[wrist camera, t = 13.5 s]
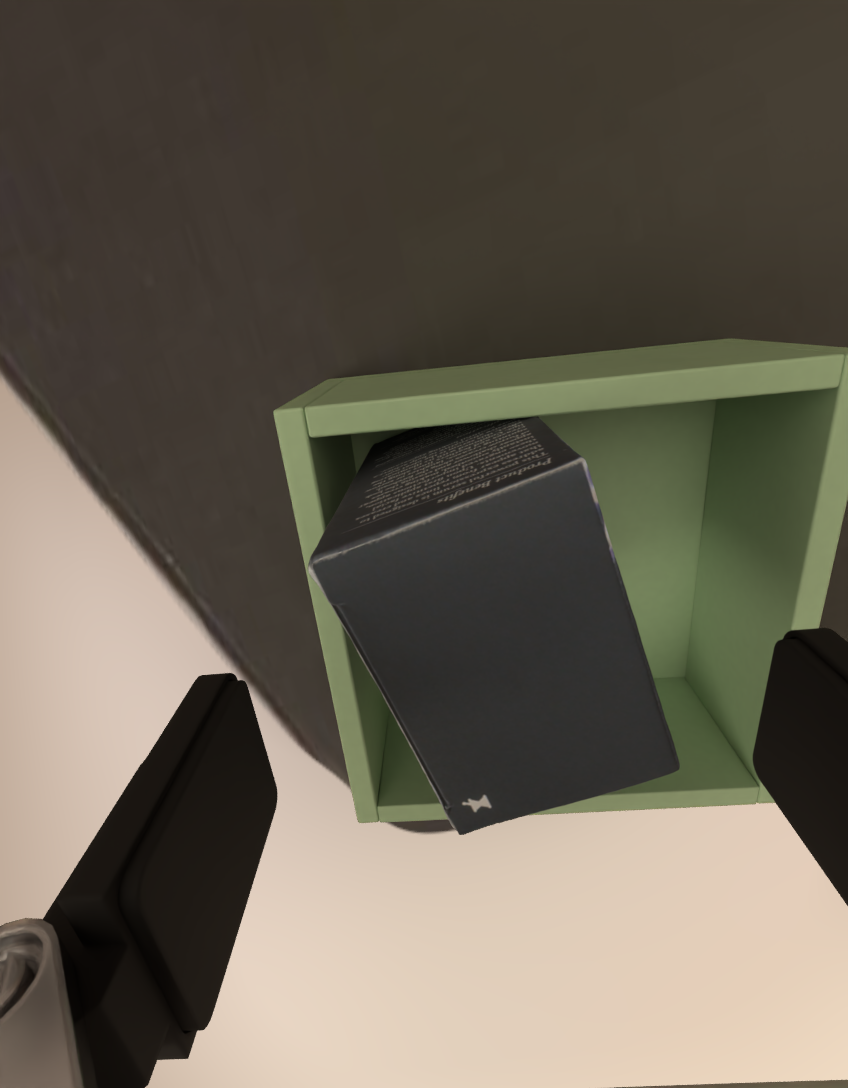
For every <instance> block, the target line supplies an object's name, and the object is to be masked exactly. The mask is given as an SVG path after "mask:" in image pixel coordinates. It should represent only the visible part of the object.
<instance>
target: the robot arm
mask: <svg viewBox="0 0 848 1088" xmlns="http://www.w3.org/2000/svg"><path fill="white" fill-rule="evenodd" d="M753 766H754V769H755V772H756V774H757V776H758V778H759V780H760V781H761V782H762V784H763V785H764V787H765V788H766V790H767V791H768V793H769V794H770V795H771V797H772V798H773V800H774V801H775V803H776V804H777V805H778V807H779V808H780V810H781V811H782V812H783V814H784V815H785V817H786V818H787V820H788V821H789V823H790V824H791V825H792V827H793V828H794V830H795V831H796V833H797V834H798V835H799V837H800V838H801V840H802V841H803V843H804V844H805V845H806V847H807V848H808V850H809V851H810V852H811V854H812V855H813V857H814V858H815V860H816V861H817V862H818V864H819V865H820V867H821V868H822V870H823V871H824V873H825V874H826V876H827V877H828V878H829V880H830V881H831V883H832V884H833V886H834V887H835V888H836V890H837V891H838V893H839V894H840V896H841V897H842V898H843V900H844V901H845V903H846V904H847V906H848V642H847V641H846V640H844V639H843V638H842V637H841V636H839V635H838V634H837V633H836V632H834V631H832V630H831V629H828V628H815V629H802V630H791V631H788V632H787V633H786V634H785V635H784V638H783V640H779V641H777V642H776V644H775V646H774V651H773V656H772V661H771V666H770V671H769V676H768V681H767V686H766V691H765V696H764V701H763V706H762V711H761V716H760V721H759V726H758V731H757V736H756V741H755V746H754V751H753ZM276 804H277V787H276V783H275V780H274V777H273V773H272V769H271V766H270V762H269V759H268V756H267V752H266V749H265V746H264V742H263V738H262V735H261V731H260V728H259V725H258V721H257V718H256V714H255V711H254V707H253V704H252V700H251V697H250V693H249V690H248V687H247V684H246V683H245V681H243V680H240V681H238V680H237V677H236V676H235V675H234V674H232V673H225V674H211V675H202V676H199V677H198V678H197V679H196V680H195V682H194V683H193V685H192V687H191V688H190V690H189V691H188V693H187V695H186V696H185V698H184V699H183V701H182V702H181V704H180V706H179V707H178V709H177V710H176V712H175V714H174V715H173V717H172V718H171V720H170V721H169V723H168V725H167V726H166V728H165V729H164V731H163V733H162V734H161V736H160V737H159V739H158V741H157V742H156V744H155V745H154V747H153V749H152V750H151V752H150V753H149V755H148V756H147V758H146V759H145V760H144V762H143V763H142V764H141V765H140V767H139V768H138V770H137V771H136V773H135V775H134V776H133V778H132V779H131V781H130V782H129V784H128V786H127V787H126V789H125V790H124V792H123V794H122V795H121V797H120V798H119V800H118V801H117V803H116V804H115V806H114V808H113V809H112V811H111V812H110V814H109V816H108V817H107V819H106V820H105V822H104V823H103V825H102V827H101V828H100V830H99V831H98V833H97V835H96V836H95V838H94V839H93V841H92V842H91V844H90V845H89V847H88V849H87V850H86V852H85V853H84V855H83V857H82V858H81V860H80V861H79V863H78V865H77V866H76V868H75V869H74V871H73V872H72V874H71V876H70V877H69V879H68V880H67V882H66V884H65V885H64V887H63V888H62V890H61V891H60V893H59V895H58V896H57V898H56V899H55V901H54V902H53V904H52V906H51V907H50V909H49V910H48V912H47V913H46V915H45V917H44V918H43V920H42V919H32V918H25V919H20V920H17V921H13V922H9V923H6V924H4V925H2V926H0V1088H145V1087H146V1086H147V1085H148V1083H149V1081H150V1078H151V1075H152V1072H153V1070H154V1067H155V1064H156V1061H157V1060H163V1059H188V1057H189V1054H190V1051H191V1048H192V1045H193V1042H194V1038H195V1035H196V1032H197V1030H204V1029H205V1028H206V1027H207V1025H208V1023H209V1022H210V1020H211V1017H212V1014H213V1011H214V1008H215V1005H216V1001H217V998H218V994H219V992H220V988H221V985H222V982H223V979H224V975H225V972H226V969H227V965H228V962H229V959H230V956H231V953H232V949H233V946H234V943H235V940H236V936H237V933H238V930H239V927H240V923H241V920H242V917H243V913H244V910H245V907H246V904H247V900H248V897H249V894H250V891H251V888H252V884H253V881H254V878H255V874H256V871H257V868H258V864H259V862H260V858H261V855H262V852H263V849H264V845H265V842H266V839H267V836H268V832H269V829H270V826H271V823H272V819H273V816H274V813H275V810H276ZM616 1088H848V1080H829V1081H794V1082H763V1083H761V1082H760V1083H730V1084H703V1085H674V1086H646V1087H645V1086H644V1087H616Z"/></svg>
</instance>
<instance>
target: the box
mask: <svg viewBox="0 0 848 1088" xmlns="http://www.w3.org/2000/svg"><path fill="white" fill-rule="evenodd" d="M308 571H309V574H310V575H311V577H312V578H313V580H314V581H315V582H316V583H317V585H318V586H319V587H320V589H321V591H322V592H323V594H324V596H325V597H326V599H327V600H328V602H329V603H330V605H331V607H332V608H333V610H334V612H335V614H336V615H337V617H338V619H339V620H340V622H341V624H342V626H343V627H344V629H345V631H346V632H347V634H348V635H349V637H350V638H351V640H352V642H353V644H354V646H355V648H356V650H357V652H358V653H359V655H360V657H361V659H362V661H363V663H364V664H365V666H366V668H367V669H368V671H369V673H370V675H371V676H372V678H373V680H374V681H375V683H376V685H377V686H378V688H379V690H380V692H381V693H382V695H383V697H384V699H385V701H386V703H387V705H388V707H389V709H390V711H391V712H392V714H393V716H394V717H395V719H396V721H397V723H398V725H399V727H400V729H401V731H402V732H403V734H404V736H405V738H406V740H407V741H408V743H409V745H410V747H411V749H412V750H413V752H414V754H415V756H416V758H417V760H418V761H419V763H420V765H421V767H422V770H423V771H424V773H425V775H426V777H427V779H428V781H429V783H430V785H431V786H432V788H433V790H434V792H435V794H436V795H437V798H438V800H439V802H440V804H441V806H442V807H443V810H444V812H445V814H446V817H447V818H448V820H449V822H450V824H451V825H452V827H453V828H454V829H455V830H457V831H458V833H459V834H460V835H464V834H466V833H469V832H472V831H474V830H478V829H480V828H483V827H486V826H490V825H493V824H496V823H501V822H504V821H508V820H512V819H515V818H518V817H522V816H526V815H530V814H534V813H537V812H541V811H545V810H548V809H552V808H556V807H560V806H564V805H568V804H572V803H575V802H578V801H582V800H586V799H590V798H593V797H597V796H600V795H604V794H607V793H611V792H615V791H618V790H621V789H624V788H627V787H631V786H634V785H638V784H641V783H644V782H647V781H650V780H653V779H656V778H659V777H663V776H666V775H668V774H671V773H674V772H676V771H678V770H679V768H680V764H679V759H678V756H677V752H676V749H675V745H674V742H673V739H672V736H671V733H670V730H669V727H668V724H667V722H666V719H665V715H664V712H663V708H662V705H661V702H660V698H659V696H658V693H657V690H656V686H655V682H654V679H653V676H652V673H651V669H650V666H649V663H648V660H647V657H646V654H645V651H644V648H643V644H642V641H641V637H640V634H639V630H638V627H637V623H636V620H635V617H634V614H633V612H632V609H631V605H630V602H629V599H628V596H627V592H626V589H625V586H624V583H623V579H622V576H621V573H620V569H619V566H618V563H617V561H616V558H615V555H614V552H613V548H612V544H611V541H610V538H609V534H608V531H607V528H606V525H605V522H604V518H603V515H602V512H601V509H600V506H599V502H598V499H597V496H596V492H595V489H594V485H593V482H592V479H591V475H590V472H589V469H588V466H587V463H586V460H585V459H584V458H583V457H582V456H581V455H579V454H578V453H577V452H575V451H574V450H573V449H572V448H571V447H570V446H569V445H568V444H567V443H565V442H564V441H563V440H562V439H561V438H560V437H559V436H558V435H557V434H556V433H554V432H553V430H552V429H550V428H549V427H548V426H547V425H546V424H545V423H544V422H543V421H542V420H541V419H540V418H539V417H538V416H537V417H527V418H516V419H506V420H495V421H485V422H474V423H464V424H453V425H442V426H432V427H421V428H413V429H411V430H408V431H406V432H403V433H401V434H398V435H396V436H393V437H391V438H388V439H385V440H383V441H381V442H379V443H375V444H374V445H373V446H372V447H371V449H370V451H369V452H368V454H367V456H366V458H365V460H364V461H363V464H362V465H361V467H360V469H359V470H358V473H357V474H356V476H355V478H354V479H353V481H352V483H351V485H350V487H349V489H348V490H347V492H346V494H345V496H344V498H343V499H342V501H341V503H340V505H339V507H338V509H337V510H336V512H335V514H334V516H333V518H332V519H331V521H330V523H329V524H328V526H327V527H326V530H325V531H324V533H323V535H322V537H321V539H320V541H319V543H318V545H317V547H316V548H315V550H314V551H313V553H312V555H311V557H310V560H309V564H308Z"/></svg>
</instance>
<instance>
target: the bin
mask: <svg viewBox="0 0 848 1088" xmlns="http://www.w3.org/2000/svg"><path fill="white" fill-rule="evenodd" d="M273 414H274V418H275V423H276V428H277V433H278V438H279V443H280V447H281V452H282V457H283V462H284V467H285V472H286V477H287V481H288V486H289V491H290V496H291V501H292V506H293V510H294V515H295V520H296V525H297V530H298V535H299V539H300V544H301V549H302V554H303V559H304V564H305V568H306V573H307V578H308V583H309V588H310V593H311V597H312V602H313V607H314V612H315V617H316V622H317V626H318V631H319V636H320V641H321V646H322V651H323V655H324V660H325V665H326V670H327V675H328V680H329V684H330V689H331V694H332V699H333V704H334V709H335V713H336V718H337V723H338V728H339V733H340V738H341V742H342V747H343V752H344V757H345V762H346V767H347V771H348V776H349V781H350V786H351V791H352V796H353V800H354V805H355V810H356V815H357V820H358V822H359V823H368V822H378V821H379V820H380V822H400V821H420V820H440V819H448V818H447V817H446V814H445V812H444V810H443V807H442V806H441V804H440V802H439V800H438V798H437V795H436V794H435V792H434V790H433V788H432V786H431V785H430V783H429V781H428V779H427V777H426V775H425V773H424V771H423V770H422V767H421V765H420V763H419V761H418V760H417V758H416V756H415V754H414V752H413V750H412V749H411V747H410V745H409V743H408V741H407V740H406V738H405V736H404V734H403V732H402V731H401V729H400V727H399V725H398V723H397V721H396V719H395V717H394V716H393V714H392V712H391V711H390V709H389V707H388V705H387V703H386V701H385V699H384V697H383V695H382V693H381V692H380V690H379V688H378V686H377V685H376V683H375V681H374V680H373V678H372V676H371V675H370V673H369V671H368V669H367V668H366V666H365V664H364V663H363V661H362V659H361V657H360V655H359V653H358V652H357V650H356V648H355V646H354V644H353V642H352V640H351V638H350V637H349V635H348V634H347V632H346V631H345V629H344V627H343V626H342V624H341V622H340V620H339V619H338V617H337V615H336V614H335V612H334V610H333V608H332V607H331V605H330V603H329V602H328V600H327V599H326V597H325V596H324V594H323V592H322V591H321V589H320V587H319V586H318V585H317V583H316V582H315V581H314V580H313V578H312V577H311V575H310V574H309V571H308V564H309V560H310V557H311V555H312V553H313V551H314V550H315V548H316V547H317V545H318V543H319V541H320V539H321V537H322V535H323V533H324V531H325V530H326V527H327V526H328V524H329V523H330V521H331V519H332V518H333V516H334V514H335V512H336V510H337V509H338V507H339V505H340V503H341V501H342V499H343V498H344V496H345V494H346V492H347V490H348V489H349V487H350V485H351V483H352V481H353V479H354V478H355V476H356V474H357V473H358V470H359V469H360V467H361V465H362V464H363V461H364V460H365V458H366V456H367V454H368V452H369V451H370V449H371V447H372V446H373V445H374V444H375V443H379V442H381V441H383V440H385V439H388V438H391V437H393V436H396V435H398V434H401V433H403V432H406V431H408V430H411V429H413V428H421V427H432V426H442V425H453V424H464V423H474V422H485V421H495V420H506V419H516V418H527V417H537V416H538V417H539V418H540V419H541V420H542V421H543V422H544V423H545V424H546V425H547V426H548V427H549V428H550V429H552V430H553V432H554V433H556V434H557V435H558V436H559V437H560V438H561V439H562V440H563V441H564V442H565V443H567V444H568V445H569V446H570V447H571V448H572V449H573V450H574V451H575V452H577V453H578V454H579V455H581V456H582V457H583V458H584V459H585V460H586V463H587V466H588V469H589V472H590V475H591V479H592V482H593V485H594V489H595V492H596V496H597V499H598V502H599V506H600V509H601V512H602V515H603V518H604V522H605V525H606V528H607V531H608V534H609V538H610V541H611V544H612V548H613V552H614V555H615V558H616V561H617V563H618V566H619V569H620V573H621V576H622V579H623V583H624V586H625V589H626V592H627V596H628V599H629V602H630V605H631V609H632V612H633V614H634V617H635V620H636V623H637V627H638V630H639V634H640V637H641V641H642V644H643V648H644V651H645V654H646V657H647V660H648V663H649V666H650V669H651V673H652V676H653V679H654V682H655V686H656V690H657V693H658V696H659V698H660V702H661V705H662V708H663V712H664V715H665V719H666V722H667V724H668V727H669V730H670V733H671V736H672V739H673V742H674V745H675V749H676V752H677V756H678V759H679V764H680V768H679V770H678V771H676V772H674V773H671V774H668V775H666V776H663V777H659V778H656V779H653V780H650V781H647V782H644V783H641V784H638V785H634V786H631V787H627V788H624V789H621V790H618V791H615V792H611V793H607V794H604V795H600V796H597V797H593V798H590V799H586V800H582V801H578V802H575V803H572V804H568V805H564V806H560V807H556V808H552V809H548V810H545V811H541V812H537V813H534V814H530V815H542V814H562V813H583V812H603V811H623V810H624V811H625V810H645V809H666V808H686V807H706V806H727V805H747V804H756V802H757V803H775V801H774V800H773V798H772V797H771V795H770V794H769V793H768V791H767V790H766V788H765V787H764V785H763V784H762V782H761V781H760V780H759V778H758V776H757V774H756V772H755V769H754V766H753V751H754V746H755V741H756V736H757V731H758V726H759V721H760V716H761V711H762V706H763V701H764V696H765V691H766V686H767V681H768V676H769V671H770V666H771V661H772V656H773V651H774V646H775V644H776V642H777V641H779V640H783V638H784V635H785V634H786V633H787V632H788V631H791V630H802V629H815V628H819V625H820V620H821V616H822V612H823V607H824V603H825V598H826V594H827V589H828V585H829V580H830V576H831V571H832V567H833V562H834V558H835V553H836V549H837V544H838V540H839V535H840V531H841V526H842V522H843V517H844V513H845V509H846V504H847V500H848V348H845V347H832V346H820V345H807V344H794V343H782V342H769V341H756V340H743V339H732V338H729V339H719V340H709V341H699V342H690V343H680V344H670V345H660V346H650V347H640V348H631V349H621V350H611V351H601V352H591V353H581V354H572V355H562V356H552V357H542V358H532V359H523V360H513V361H503V362H493V363H483V364H473V365H464V366H454V367H444V368H434V369H424V370H414V371H405V372H395V373H385V374H375V375H365V376H355V377H346V378H336V379H327V380H326V381H324V382H322V383H321V384H319V385H317V386H316V387H314V388H312V389H310V390H309V391H307V392H305V393H304V394H302V395H300V396H298V397H297V398H295V399H293V400H291V401H290V402H288V403H286V404H284V405H283V406H281V407H279V408H278V409H276V410H274V413H273Z"/></svg>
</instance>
